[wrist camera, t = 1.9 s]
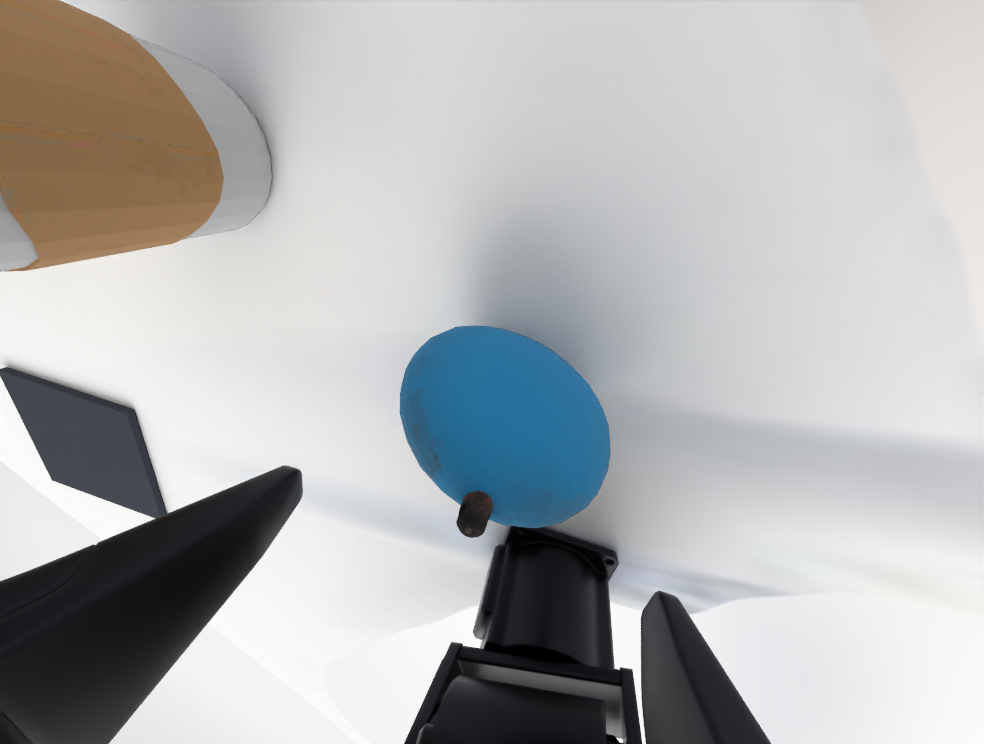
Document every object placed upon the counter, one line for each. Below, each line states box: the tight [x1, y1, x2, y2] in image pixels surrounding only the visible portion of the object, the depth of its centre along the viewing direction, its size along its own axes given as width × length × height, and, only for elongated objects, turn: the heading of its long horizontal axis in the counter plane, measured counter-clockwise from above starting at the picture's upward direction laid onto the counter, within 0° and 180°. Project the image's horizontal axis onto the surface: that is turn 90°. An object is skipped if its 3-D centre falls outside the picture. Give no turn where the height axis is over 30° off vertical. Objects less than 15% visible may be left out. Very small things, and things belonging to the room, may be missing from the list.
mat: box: [0, 367, 167, 518], centre depth 28 cm, size 11×11×1 cm
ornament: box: [400, 326, 610, 538], centre depth 13 cm, size 8×5×10 cm, turn 63°
